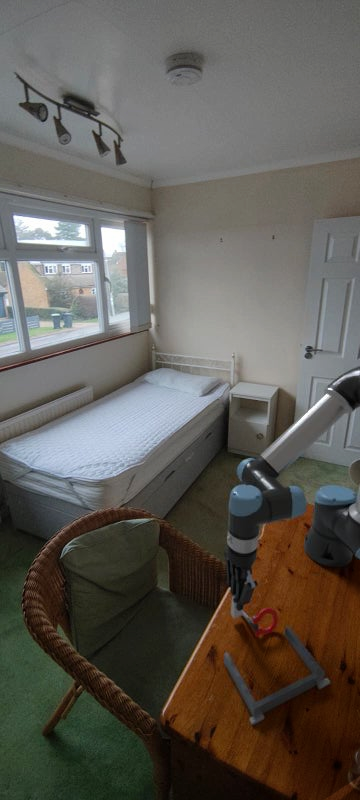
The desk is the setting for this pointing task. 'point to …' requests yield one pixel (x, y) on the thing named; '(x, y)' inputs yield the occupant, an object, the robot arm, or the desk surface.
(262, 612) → the tow hook
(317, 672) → the bracket
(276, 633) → the desk surface
